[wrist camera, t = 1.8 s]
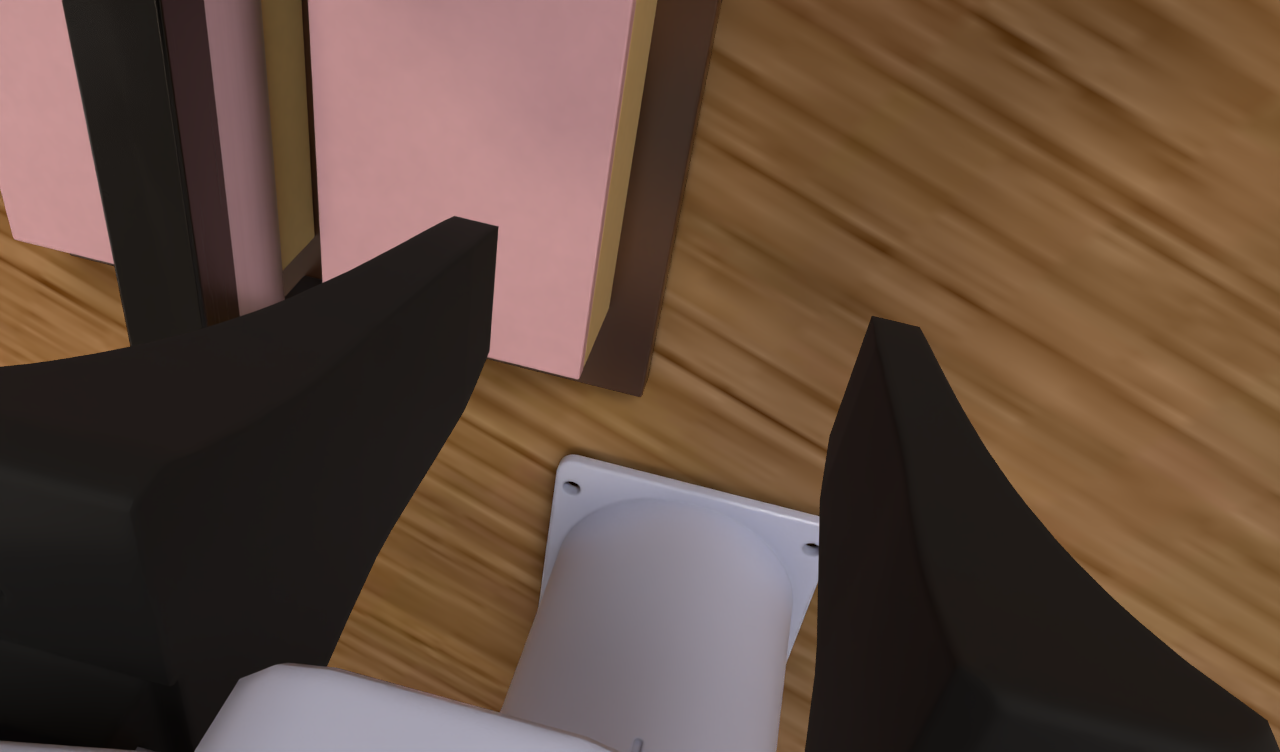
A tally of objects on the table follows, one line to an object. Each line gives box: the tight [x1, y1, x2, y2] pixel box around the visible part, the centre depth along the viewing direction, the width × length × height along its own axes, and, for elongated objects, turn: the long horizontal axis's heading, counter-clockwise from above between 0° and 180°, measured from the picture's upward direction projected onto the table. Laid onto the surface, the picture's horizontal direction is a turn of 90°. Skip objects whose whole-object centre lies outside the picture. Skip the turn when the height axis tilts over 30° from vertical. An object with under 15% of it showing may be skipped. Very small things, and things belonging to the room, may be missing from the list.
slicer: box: [69, 0, 722, 397], centre depth 19 cm, size 18×16×7 cm
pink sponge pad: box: [0, 0, 657, 379], centre depth 20 cm, size 13×14×3 cm
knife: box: [62, 0, 285, 347], centre depth 17 cm, size 14×2×4 cm, turn 172°
